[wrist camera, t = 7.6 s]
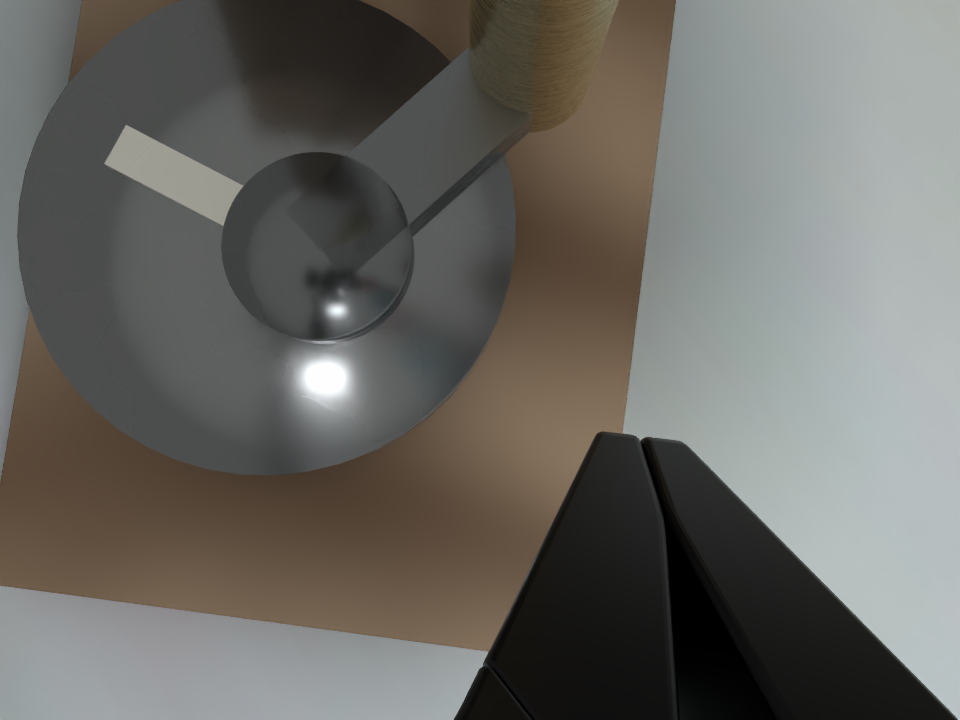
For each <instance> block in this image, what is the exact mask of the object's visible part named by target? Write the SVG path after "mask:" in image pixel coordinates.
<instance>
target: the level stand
mask: <svg viewBox="0 0 960 720" xmlns="http://www.w3.org/2000/svg"><path fill="white" fill-rule="evenodd" d="M179 1H182V0H82V6H81V11H80V17H79V23H78V29H77V35H76V41H75V47H74V53H73V59H72V64H71V70H70V76H69V82H70V81H71V80H72V79H73V78H74V77H75V75H76V74H77V73H78V72H79V71H80V70H81V68H82V67H83V66H84V65H85V64H86V63H87V62H88V60H89V59H91V58H92V57H93V56H94V55H95V54H96V53H97V52H98V51H99V50H101V49H102V48H103V47H104V46H105V45H106V44H107V43H108V42H109V41H111V40H112V39H113V38H114V37H116V36H117V35H119V34H120V33H122V32H123V31H124V30H126V29H127V28H129V27H130V26H132V25H133V24H135V23H136V22H137V21H139V20H141V19H143V18H145V17H147V16H149V15H150V14H152V13H154V12H156V11H158V10H160V9H162V8H164V7H166V6H168V5H171V4H173V3H176V2H179ZM359 1H362V2H364V3H366V4H368V5H371V6H373V7H375V8H378V9H380V10H382V11H384V12H386V13H388V14H389V15H391V16H393V17H395V18H396V19H398V20H400V21H401V22H403V23H405V24H406V25H408V26H410V27H411V28H413V29H414V30H415V31H416V32H418V33H419V34H420V35H421V36H423V37H424V38H425V39H427V40H428V41H429V42H430V43H432V44H433V45H434V46H435V47H437V48H438V49H439V50H440V52H441V53H442V54H443V55H444V56H445V57H446V58H447V59H448V60H449V61H450V62H452V61H454V60H455V59H456V58H457V57H458V56H459V55H460V54H461V53H463V52H464V51H465V50H466V49H467V48H468V47H469V0H359ZM675 4H676V0H619V2H618V4H617V7H616V10H615V13H614V16H613V19H612V21H611V24H610V27H609V30H608V33H607V36H606V39H605V41H604V44H603V47H602V50H601V53H600V56H599V58H598V61H597V64H596V67H595V70H594V73H593V75H592V78H591V81H590V84H589V87H588V90H587V93H586V95H585V97H584V100H583V102H582V103H581V105H580V107H579V108H578V109H577V111H576V112H575V113H574V114H573V115H572V116H571V117H570V118H569V119H568V120H566V121H565V122H563V123H562V124H560V125H558V126H556V127H554V128H552V129H549V130H545V131H541V132H533V133H528V134H527V135H526V136H525V137H524V138H522V139H521V140H520V141H519V142H518V143H517V144H516V145H515V146H514V147H512V148H511V149H510V150H509V151H508V152H507V153H506V154H505V156H506V160H507V164H508V168H509V172H510V176H511V180H512V185H513V194H514V203H515V212H516V233H515V252H514V258H513V265H512V271H511V278H510V282H509V286H508V289H507V293H506V296H505V300H504V303H503V307H502V310H501V313H500V317H499V320H498V322H497V325H496V327H495V329H494V331H493V334H492V336H491V338H490V340H489V343H488V345H487V347H486V349H485V350H484V352H483V354H482V355H481V357H480V359H479V360H478V362H477V363H476V365H475V367H474V368H473V370H472V372H471V373H470V374H469V376H468V377H467V378H466V379H465V380H464V382H463V383H462V384H461V385H460V387H459V388H458V389H457V390H456V392H455V393H454V394H453V395H452V396H451V397H450V398H449V399H448V400H447V401H446V402H445V403H444V404H443V405H442V406H441V407H440V408H439V409H438V410H437V411H436V412H435V413H434V414H432V415H431V416H430V417H429V418H428V419H426V420H425V421H424V422H422V423H421V424H419V425H418V426H417V427H415V428H414V429H413V430H411V431H410V432H408V433H407V434H406V435H404V436H402V437H400V438H398V439H396V440H395V441H393V442H391V443H389V444H387V445H386V446H384V447H382V448H380V449H378V450H375V451H372V452H370V453H367V454H365V455H362V456H360V457H357V458H354V459H352V460H349V461H346V462H343V463H341V464H337V465H333V466H329V467H325V468H321V469H317V470H312V471H308V472H301V473H291V474H282V475H240V474H234V473H227V472H221V471H214V470H208V469H205V468H201V467H198V466H195V465H191V464H188V463H184V462H181V461H178V460H175V459H173V458H171V457H168V456H166V455H164V454H162V453H159V452H157V451H155V450H153V449H150V448H148V447H146V446H144V445H143V444H141V443H140V442H138V441H136V440H135V439H133V438H131V437H130V436H128V435H127V434H125V433H123V432H122V431H120V430H119V429H117V428H116V427H115V426H114V425H112V424H111V423H110V422H109V421H108V420H106V419H105V418H104V417H103V416H101V415H100V414H99V413H98V412H97V411H95V410H94V409H93V408H92V407H91V406H90V405H89V404H88V403H87V401H86V400H85V399H84V398H83V397H82V396H81V395H80V394H79V393H78V392H77V391H76V390H75V389H74V387H73V386H72V385H71V384H70V383H69V381H68V380H67V378H66V377H65V376H64V374H63V373H62V371H61V370H60V368H59V367H58V366H57V364H56V363H55V361H54V360H53V358H52V357H51V355H50V353H49V351H48V349H47V347H46V345H45V343H44V341H43V339H42V337H41V335H40V333H39V332H38V330H37V327H36V324H35V321H34V319H33V316H32V313H31V310H30V311H29V317H28V323H27V329H26V335H25V341H24V347H23V352H22V358H21V364H20V370H19V376H18V382H17V388H16V394H15V399H14V405H13V411H12V417H11V423H10V429H9V435H8V441H7V447H6V452H5V458H4V464H3V470H2V476H1V482H0V585H1V586H9V587H16V588H23V589H31V590H38V591H46V592H53V593H60V594H68V595H75V596H83V597H90V598H97V599H105V600H112V601H120V602H127V603H134V604H142V605H149V606H157V607H164V608H171V609H179V610H186V611H194V612H201V613H208V614H216V615H223V616H231V617H238V618H245V619H253V620H260V621H268V622H275V623H282V624H290V625H297V626H305V627H312V628H319V629H327V630H334V631H342V632H349V633H356V634H364V635H371V636H379V637H386V638H393V639H401V640H408V641H416V642H423V643H430V644H438V645H445V646H453V647H460V648H467V649H475V650H482V651H490V649H491V647H492V645H493V642H494V640H495V638H496V636H497V634H498V632H499V630H500V628H501V626H502V624H503V622H504V620H505V618H506V616H507V614H508V612H509V610H510V608H511V606H512V604H513V602H514V600H515V598H516V596H517V594H518V592H519V590H520V588H521V586H522V584H523V581H524V579H525V577H526V575H527V573H528V571H529V569H530V567H531V565H532V563H533V561H534V559H535V557H536V555H537V553H538V551H539V549H540V547H541V545H542V543H543V541H544V539H545V537H546V535H547V533H548V531H549V529H550V527H551V525H552V523H553V520H554V518H555V516H556V514H557V512H558V510H559V508H560V506H561V504H562V502H563V500H564V498H565V496H566V494H567V492H568V490H569V488H570V486H571V484H572V482H573V480H574V478H575V476H576V474H577V472H578V470H579V468H580V466H581V464H582V461H583V459H584V457H585V455H586V453H587V451H588V449H589V447H590V445H591V443H592V441H593V439H594V437H595V435H596V434H597V433H598V432H601V431H605V432H613V433H621V434H622V433H623V425H624V416H625V408H626V400H627V392H628V384H629V376H630V368H631V360H632V352H633V344H634V336H635V327H636V319H637V311H638V303H639V295H640V287H641V279H642V271H643V263H644V255H645V246H646V238H647V230H648V222H649V214H650V206H651V198H652V190H653V182H654V174H655V166H656V157H657V149H658V141H659V133H660V125H661V117H662V109H663V101H664V93H665V85H666V76H667V68H668V60H669V52H670V44H671V36H672V28H673V20H674V12H675ZM69 82H68V84H69Z"/></svg>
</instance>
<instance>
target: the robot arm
mask: <svg viewBox="0 0 960 720" xmlns="http://www.w3.org/2000/svg"><path fill="white" fill-rule="evenodd" d="M454 720H958V719H957V718H956V717H955V716H954V715H953V714H952V713H951V712H950V711H949V709H948V708H947V707H946V706H945V705H944V704H943V703H942V702H941V701H940V700H939V699H938V698H937V697H936V696H935V695H934V694H933V693H932V692H931V691H930V690H929V689H928V688H927V687H926V686H925V685H924V684H923V683H922V682H921V681H920V680H919V679H918V678H917V677H916V676H915V675H914V674H913V673H912V672H911V671H910V670H909V669H908V668H907V667H906V666H905V665H904V664H903V663H902V662H901V661H900V660H899V659H898V658H897V657H896V656H895V655H894V654H893V653H892V652H891V651H890V650H889V649H888V648H887V647H886V646H885V645H884V644H883V643H882V642H881V641H880V640H879V639H878V638H877V637H876V636H875V635H874V634H873V633H872V632H871V631H870V630H869V629H868V628H867V627H866V626H865V625H864V624H863V623H862V622H861V621H860V620H859V619H858V618H857V616H856V615H855V614H854V613H853V612H852V611H851V610H850V609H849V608H848V607H847V606H846V605H845V604H844V603H843V602H842V601H841V600H840V599H839V598H838V597H837V596H836V595H835V594H834V593H833V592H832V591H831V590H830V589H829V588H828V587H827V586H826V585H825V584H824V583H823V582H822V581H821V580H820V579H819V578H818V577H817V576H816V575H815V574H814V573H813V572H812V571H811V570H810V569H809V568H808V567H807V566H806V565H805V564H804V563H803V562H802V561H801V560H800V559H799V558H798V557H797V556H796V555H795V554H794V553H793V552H792V551H791V550H790V549H789V548H788V547H787V546H786V545H785V544H784V543H783V542H782V541H781V540H780V539H779V538H778V537H777V536H776V535H775V534H774V533H773V532H772V531H771V530H770V529H769V528H768V527H767V526H766V524H765V523H764V522H763V521H762V520H761V519H760V518H759V517H758V516H757V515H756V514H755V513H754V512H753V511H752V510H751V509H750V508H749V507H748V506H747V505H746V504H745V503H744V502H743V501H742V500H741V499H740V498H739V497H738V496H737V495H736V494H735V493H734V492H733V491H732V490H731V489H730V488H729V487H728V486H727V485H726V484H725V483H724V482H723V481H722V480H721V479H720V478H719V477H718V476H717V475H716V474H715V473H714V472H713V471H712V470H711V469H710V468H709V467H708V466H707V465H706V464H705V463H704V462H703V461H702V460H701V459H700V458H699V457H698V456H697V455H696V454H695V453H694V452H693V451H692V450H691V449H690V448H689V447H688V446H687V445H686V444H684V443H683V442H681V441H676V440H668V439H660V438H652V437H646V438H643V439H642V440H641V441H640V440H639V438H637V437H636V436H634V435H629V434H621V433H613V432H605V431H601V432H598V433H597V434H596V435H595V437H594V439H593V441H592V443H591V445H590V447H589V449H588V451H587V453H586V455H585V457H584V459H583V461H582V464H581V466H580V468H579V470H578V472H577V474H576V476H575V478H574V480H573V482H572V484H571V486H570V488H569V490H568V492H567V494H566V496H565V498H564V500H563V502H562V504H561V506H560V508H559V510H558V512H557V514H556V516H555V518H554V520H553V523H552V525H551V527H550V529H549V531H548V533H547V535H546V537H545V539H544V541H543V543H542V545H541V547H540V549H539V551H538V553H537V555H536V557H535V559H534V561H533V563H532V565H531V567H530V569H529V571H528V573H527V575H526V577H525V579H524V581H523V584H522V586H521V588H520V590H519V592H518V594H517V596H516V598H515V600H514V602H513V604H512V606H511V608H510V610H509V612H508V614H507V616H506V618H505V620H504V622H503V624H502V626H501V628H500V630H499V632H498V634H497V636H496V638H495V640H494V642H493V645H492V647H491V649H490V651H489V653H488V655H487V657H486V659H485V661H484V663H483V667H482V668H480V669H479V671H478V673H477V675H476V677H475V679H474V681H473V683H472V685H471V687H470V689H469V691H468V693H467V696H466V698H465V700H464V702H463V704H462V706H461V707H460V709H459V711H458V713H457V715H456V717H455V718H454Z"/></svg>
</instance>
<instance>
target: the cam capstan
mask: <svg viewBox="0 0 960 720" xmlns="http://www.w3.org/2000/svg"><path fill="white" fill-rule="evenodd" d="M618 2H619V0H469V47H468V48H467V49H466V50H465V51H464V52H463V53H461V54H460V55H459V56H458V57H457V58H456V59H455V60H454V61H452V62H450V61H449V60H448V59H447V58H446V57H445V56H444V55H443V54H442V53H441V52H440V50H439V49H438V48H437V47H435V46H434V45H433V44H432V43H430V42H429V41H428V40H427V39H425V38H424V37H423V36H421V35H420V34H419V33H418V32H416V31H415V30H414V29H413V28H411V27H410V26H408V25H406V24H405V23H403V22H401V21H400V20H398V19H396V18H395V17H393V16H391V15H389V14H388V13H386V12H384V11H382V10H380V9H378V8H375V7H373V6H371V5H368V4H366V3H364V2H362V1H359V0H182V1H179V2H176V3H173V4H171V5H168V6H166V7H164V8H162V9H160V10H158V11H156V12H154V13H152V14H150V15H149V16H147V17H145V18H143V19H141V20H139V21H137V22H136V23H135V24H133V25H132V26H130V27H129V28H127V29H126V30H124V31H123V32H122V33H120V34H119V35H117V36H116V37H114V38H113V39H112V40H111V41H109V42H108V43H107V44H106V45H105V46H104V47H103V48H102V49H101V50H99V51H98V52H97V53H96V54H95V55H94V56H93V57H92V58H91V59H89V60H88V62H87V63H86V64H85V65H84V66H83V67H82V68H81V70H80V71H79V72H78V73H77V74H76V75H75V77H74V78H73V79H72V80H71V81H70V82H69V84H68V85H67V86H66V88H65V89H64V91H63V92H62V94H61V95H60V97H59V98H58V100H57V101H56V103H55V104H54V106H53V108H52V109H51V111H50V112H49V114H48V116H47V118H46V120H45V122H44V125H43V127H42V129H41V131H40V133H39V135H38V137H37V139H36V141H35V144H34V147H33V150H32V153H31V156H30V159H29V162H28V165H27V168H26V171H25V176H24V181H23V186H22V192H21V197H20V202H19V216H18V233H17V237H18V250H19V263H20V271H21V275H22V280H23V285H24V289H25V294H26V299H27V302H28V305H29V307H30V310H31V313H32V316H33V319H34V321H35V324H36V327H37V330H38V332H39V333H40V335H41V337H42V339H43V341H44V343H45V345H46V347H47V349H48V351H49V353H50V355H51V357H52V358H53V360H54V361H55V363H56V364H57V366H58V367H59V368H60V370H61V371H62V373H63V374H64V376H65V377H66V378H67V380H68V381H69V383H70V384H71V385H72V386H73V387H74V389H75V390H76V391H77V392H78V393H79V394H80V395H81V396H82V397H83V398H84V399H85V400H86V401H87V403H88V404H89V405H90V406H91V407H92V408H93V409H94V410H95V411H97V412H98V413H99V414H100V415H101V416H103V417H104V418H105V419H106V420H108V421H109V422H110V423H111V424H112V425H114V426H115V427H116V428H117V429H119V430H120V431H122V432H123V433H125V434H127V435H128V436H130V437H131V438H133V439H135V440H136V441H138V442H140V443H141V444H143V445H144V446H146V447H148V448H150V449H153V450H155V451H157V452H159V453H162V454H164V455H166V456H168V457H171V458H173V459H175V460H178V461H181V462H184V463H188V464H191V465H195V466H198V467H201V468H205V469H208V470H214V471H221V472H227V473H234V474H240V475H282V474H291V473H301V472H308V471H312V470H317V469H321V468H325V467H329V466H333V465H337V464H341V463H343V462H346V461H349V460H352V459H354V458H357V457H360V456H362V455H365V454H367V453H370V452H372V451H375V450H378V449H380V448H382V447H384V446H386V445H387V444H389V443H391V442H393V441H395V440H396V439H398V438H400V437H402V436H404V435H406V434H407V433H408V432H410V431H411V430H413V429H414V428H415V427H417V426H418V425H419V424H421V423H422V422H424V421H425V420H426V419H428V418H429V417H430V416H431V415H432V414H434V413H435V412H436V411H437V410H438V409H439V408H440V407H441V406H442V405H443V404H444V403H445V402H446V401H447V400H448V399H449V398H450V397H451V396H452V395H453V394H454V393H455V392H456V390H457V389H458V388H459V387H460V385H461V384H462V383H463V382H464V380H465V379H466V378H467V377H468V376H469V374H470V373H471V372H472V370H473V368H474V367H475V365H476V363H477V362H478V360H479V359H480V357H481V355H482V354H483V352H484V350H485V349H486V347H487V345H488V343H489V340H490V338H491V336H492V334H493V331H494V329H495V327H496V325H497V322H498V320H499V317H500V313H501V310H502V307H503V303H504V300H505V296H506V293H507V289H508V286H509V282H510V278H511V271H512V265H513V258H514V252H515V233H516V212H515V203H514V194H513V185H512V180H511V176H510V172H509V168H508V164H507V160H506V156H505V154H506V153H507V152H508V151H509V150H510V149H511V148H512V147H514V146H515V145H516V144H517V143H518V142H519V141H520V140H521V139H522V138H524V137H525V136H526V135H527V134H528V133H533V132H541V131H545V130H549V129H552V128H554V127H556V126H558V125H560V124H562V123H563V122H565V121H566V120H568V119H569V118H570V117H571V116H572V115H573V114H574V113H575V112H576V111H577V109H578V108H579V107H580V105H581V103H582V102H583V100H584V97H585V95H586V93H587V90H588V87H589V84H590V81H591V78H592V75H593V73H594V70H595V67H596V64H597V61H598V58H599V56H600V53H601V50H602V47H603V44H604V41H605V39H606V36H607V33H608V30H609V27H610V24H611V21H612V19H613V16H614V13H615V10H616V7H617V4H618Z"/></svg>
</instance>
